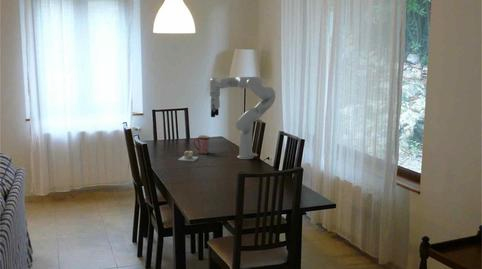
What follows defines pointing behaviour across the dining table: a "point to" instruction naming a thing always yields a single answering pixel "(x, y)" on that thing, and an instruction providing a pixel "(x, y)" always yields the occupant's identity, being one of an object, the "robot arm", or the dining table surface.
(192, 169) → the dining table surface
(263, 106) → the robot arm
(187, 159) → the pad
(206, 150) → the mug
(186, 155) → the maple block
